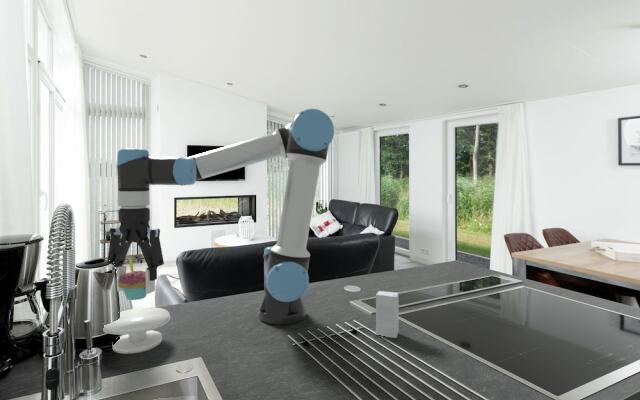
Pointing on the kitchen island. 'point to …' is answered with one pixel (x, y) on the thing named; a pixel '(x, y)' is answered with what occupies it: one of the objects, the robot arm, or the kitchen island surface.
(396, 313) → the skincare box
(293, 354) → the kitchen island surface
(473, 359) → the kitchen island surface
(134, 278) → the cupcake
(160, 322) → the cake stand
